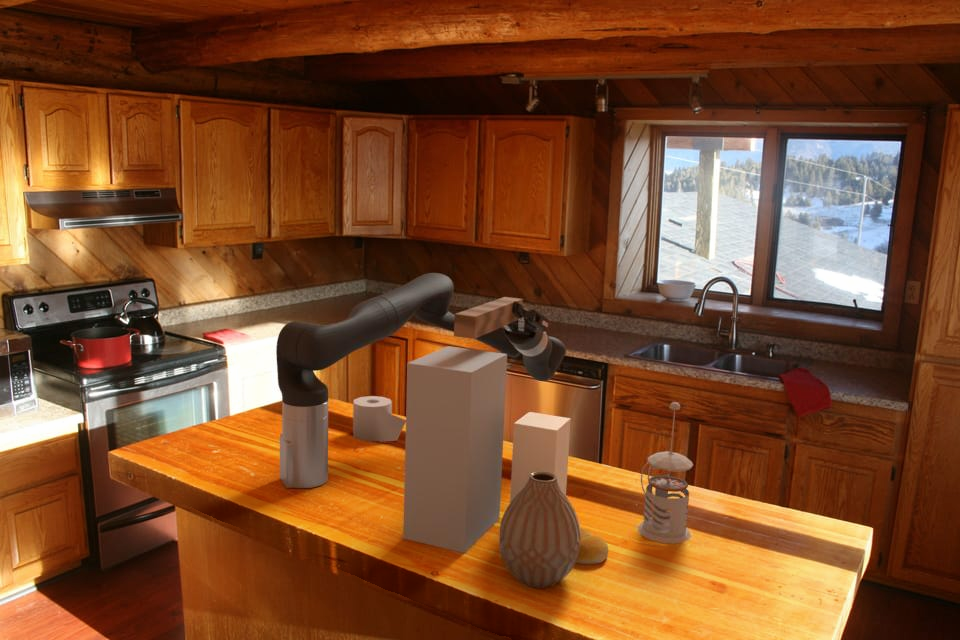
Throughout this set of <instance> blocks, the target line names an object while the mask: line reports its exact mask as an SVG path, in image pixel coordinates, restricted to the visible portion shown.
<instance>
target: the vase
mask: <svg viewBox="0 0 960 640" xmlns="http://www.w3.org/2000/svg"><path fill="white" fill-rule="evenodd" d="M500 521H501V522H500V525H499V534H498V546H499V547H498V548H499V551H500V555H501V558H502V561H503V564H504V565H505V567H506V568H507V570H508V571H509V573H510V574H511V575H512V577H514V578H515V579H516V580H517V581H519V582H520V583H521V584H523V585H525V586H527V587H529V588H530V587H532V588H535V589H537V588H538V589H541V588H542V589H543V588H549V587H552V586H555V585H557V584H558V583H559V582H560V581H562V580H564V579H565V578H566V577H567V576H568V575H569V573H570V572H571V571H572V570H573V569H574V567H575V565H576V564H577V563H576V561H577V558H578V555H579V551H580V543H581V532H580V528H581V527H580V522H579V519H578V516H577V513H576V511H575V509H574V507H573V505H572V504H571V502H570V500H569V499H568V497H567V495H566V496H565V494H564V493H563V492H562V490H561V489H560V487H559V485H558V482H557V476H556V475H554V474H552V473H549V472H543V471H539V472H533V473H531V474H530V475H529V480H528V482H527V483H526V485H525V487H524V488H523V489H522V490H521V491H520V492H519V493H518V494H517V495H516V496H515V497H514V499H513V500H512V501H511V503H510V502H509V503H508V505H507V507H506V509H505V511H504V513H503V515H502V518H501V520H500Z"/></svg>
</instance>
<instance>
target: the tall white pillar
mask: <svg viewBox="0 0 960 640" xmlns="http://www.w3.org/2000/svg"><path fill="white" fill-rule="evenodd" d="M507 364H508V355H507V354H504V353H502V352H494V351H488V350H481V349H480V350H479V349H474V348H473V349H471V348H464V347H456V346H448V345H447V346H445V347H442V348H441V349H440V348H439V349H438V350H436V351H433V352H431V353H429V354H426V355H423V356H421V357H418V358H416V359H413V360H411V361H410V362H407V366H406V369H407V370H406V372H407V373H406V402H405V404H406V407H405V408H406V410H405V413H406V414H405V418H406V419H405V420H406V422H405V443H404V444H405V445H404V447H405V448H404V451H405V455H404V461H405V462H404V483H403V484H404V485H403V486H404V487H403V488H404V489H403V490H404V491H403V493H404V494H403V530H402V531H403V533H402V539H404V540H408V541H413V542H418V543H421V544H425V545H429V546H432V547H433V546H434V547H438V548H441V549H445V550H450V551H455V552H458V553H463V554H465V553H467V552H468V551H469V550H470V548H471V547H473V545H474V544H475V543H476V542H477V541H478V540H480V538H482V537H483V535H485V533H486V532H487V531H488V530H489V529H490V528H492V527H493V526H494V524H496V523H497V522H498V521H499V520H500V519H501V518H500V515H501V514H500V512H501V495H502V494H501V493H502V477H503V476H502V475H503V474H502V472H503V471H502V470H503V455H504V453H503V451H504V430H505V410H506V409H505V407H506V387H507V367H508V365H507Z"/></svg>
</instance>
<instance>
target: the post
mask: <svg viewBox="0 0 960 640" xmlns="http://www.w3.org/2000/svg"><path fill="white" fill-rule="evenodd" d="M571 420H572V419H571V418H570V417H565V416H558V415H557V416H556V415H552V414H551V415H550V414H547V413H546V414H545V413H538V412H533V411H529V412H527V413H526V414H525V415H523V416H522V417H520V418H519V419H518V420H516V421H515V422H514V423H513V437H512V453H511V454H512V458H511V477H510V494H509V495H510V497H509V504H510V503H511V501H512V500H513V499H514V497H515V496H516V495H517V494H518V493H519V492H520V491H521V490H522V489H523V488H524V487H525V485H526V483H527V482H528V480H529V475H530V474H531V473H533V472H539V471H543V472H549V473H552V474H554V475H556V476H557V482H558V485H559V487H560V489H561V490H562V492H563V493H564V494H565V496H566V497H567V482H568V466H569V450H570V435H571Z"/></svg>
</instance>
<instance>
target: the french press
mask: <svg viewBox="0 0 960 640" xmlns="http://www.w3.org/2000/svg"><path fill="white" fill-rule="evenodd" d="M669 409H671V410H672V411H673V418H672V419H673V420H672V430H671V439H670V442H671V443H670V451H659V452H656V453H653V454H651V455H650V456H648V457H647V462H646V463H645V464H643V467H642V469H641V472H640V474H641V475H640V483H641V488H642V492H643V494H644V496H645V501H644V510H643V511H644V513H643V521H642V522H641V523H640V524H638V526H637V530H638V531H637V532H638V533H639V534H641V536H643V537H645V538H647V539H649V541H654V542H658V543H662V544H663V543H664V544H680V543H681V544H682V543H685V542H686V541H687V542H688V541H689V540H690V538H691V537H692V535H691V531H690V530H689V529H688V528H687V524H688V521H687V519H688V512H689V509H688V507H689V502H690V491H689V490H688V489H687V488H688V487H689V484H688V482H687V481H686V480H685V479H683V478H680V477H677V476H673V475H670V473H671V472H676V473H677V472H679V473H680V472H686V471H689V470H691V469H692V468H693V466H694V464H693V462H692V461H691V460H690V459H689V458H688V457H687V456H685V455H683V454H681V453H678V452H673V441H674V440H673V439H674V429H675V420H676V419H675V417H676V411H680V409H681V405H680V403H679V402H677V401H676V402H675V401H672V402H671V403H670V405H669ZM648 464H650V466H649V468H648V471H647V472H648V473H647V482H648V483H647V484H648V485H647V486H646V487H645V488H644V485H643V472H644V469H645V468H646V466H647V465H648ZM651 469H652V470H657V469H659V470H662V471H667V472H668V474H667V475H665V474H664V475H663V474H660V475H658V474H657V475H653V476H651V477H650V473H651ZM653 488H655V490H654V491H655V492H653ZM645 489H646V490H645ZM669 492H671V493H669ZM677 492H680V493H677ZM681 493H682V494H683V495H684V496H683V495H682V494H681ZM672 497H675V498H672ZM652 503H653V505H652ZM651 509H652V511H651ZM669 510H670V511H669ZM667 511H668V512H667ZM651 516H652V517H651Z"/></svg>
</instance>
